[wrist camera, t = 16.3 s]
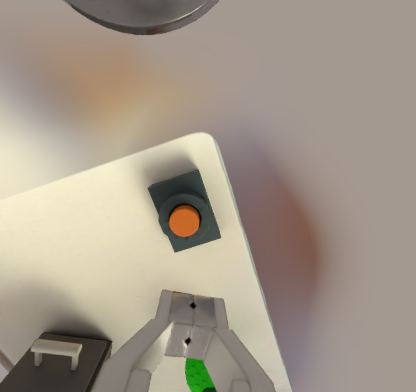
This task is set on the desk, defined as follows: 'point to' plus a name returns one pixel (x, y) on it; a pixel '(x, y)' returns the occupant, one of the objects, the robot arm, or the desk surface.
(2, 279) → the desk surface
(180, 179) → the control block
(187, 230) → the button
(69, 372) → the drawer
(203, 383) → the ornament
